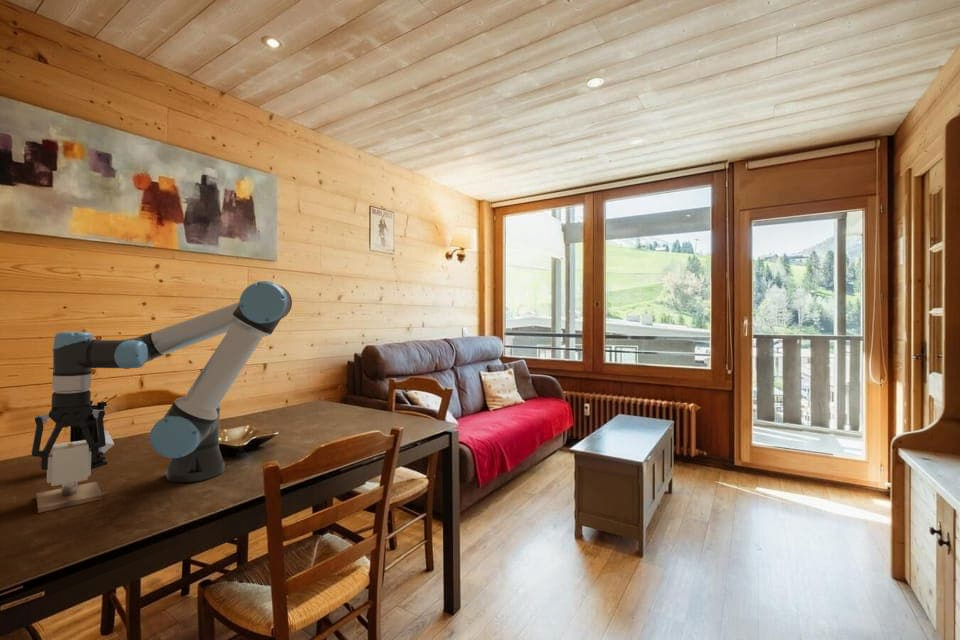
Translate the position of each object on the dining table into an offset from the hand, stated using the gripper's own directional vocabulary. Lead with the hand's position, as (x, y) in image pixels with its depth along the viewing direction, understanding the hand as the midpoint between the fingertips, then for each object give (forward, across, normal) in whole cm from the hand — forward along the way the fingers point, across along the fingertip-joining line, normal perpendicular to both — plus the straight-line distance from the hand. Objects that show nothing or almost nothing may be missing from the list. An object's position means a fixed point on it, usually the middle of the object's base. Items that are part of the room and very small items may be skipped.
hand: (69, 477), depth 116 cm
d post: (+4, 0, 0) cm, 4 cm away
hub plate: (+6, 0, 0) cm, 6 cm away
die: (+6, -9, -39) cm, 41 cm away
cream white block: (+1, 0, 0) cm, 1 cm away
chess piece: (+6, -5, -27) cm, 28 cm away
